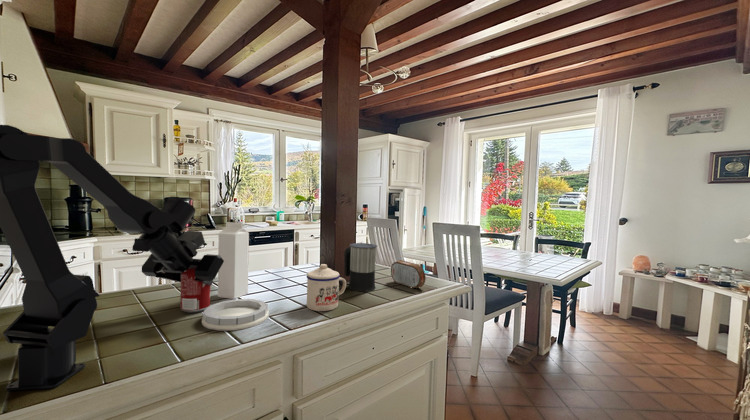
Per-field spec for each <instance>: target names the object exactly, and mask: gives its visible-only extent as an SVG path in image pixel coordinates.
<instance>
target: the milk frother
mask: <svg viewBox="0 0 750 420" xmlns="http://www.w3.org/2000/svg"><path fill="white" fill-rule="evenodd" d="M377 247H378V245H377V244H373V243H365V242H364V243H363V242H358V243H357V242H356V243H350V244H349V246H348V247H346V248H345V250H344V254H343V256H344V257H343V260H344V261H343V263H344V269H343V270H344V276H345V277H349V283H347V282H346V286H348V289H349V290H352V291H354V292H355V291H356V292H370V291H373V290H375V289H376V283H375V281H376V258H377ZM339 286H341V287H339V291H340V290H341V289H342V286H343V281H342V280H339ZM339 291H338V292H339Z"/></svg>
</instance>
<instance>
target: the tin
mask: <svg viewBox="0 0 750 420" xmlns="http://www.w3.org/2000/svg"><path fill="white" fill-rule="evenodd" d="M390 276H391V279H392V280H393V281H394V283H396V284H398V283H399V284H398V285H400V284H402V286H403V285H405V286H404V287H407V286H408V287H407V288H410V287H412V288H411V289H413V288H416V289H418V288H419V287H420V288H422V287H423V286H424V285H425V282H426V273H425V270H424V268H423V267H422V266H421V265H420V264H418V263H415V262H414V263H413V262H409V261H406V260H402V259H401V260H398V261H395V262H393V263H392V264H391V266H390Z"/></svg>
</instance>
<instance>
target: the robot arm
mask: <svg viewBox="0 0 750 420" xmlns="http://www.w3.org/2000/svg"><path fill="white" fill-rule="evenodd" d="M40 162H48V163H50V164H51V165H52V166H54V167H55V168H56V169H57V170H59V172H61V173H62V174H63V175H65V176H66V177H67V178H68V179H70V180H71V181H72V182H74V183H75V184H76V185H77V186H78V187H80V189H82V190H83V191H84V192H85V193H87V195H88V196H89V195H90V197H92V199H94V200H95V201H97V202H98V203H99V204H101V206H103V207H104V209H105V210H106V212H107V216H108V219H109V220H110V221H111V222H112V223H113V225H115V227H116V228H117V229H118V230H119V231H120V232H123V233H129V234H130V233H131V234H141V235H140V236H139V237H138V238H136V237H135V238H134V242H133V245H132V251H133V252H145V253H147V252H150V255H149V256H148V258H147V259H146V261H144V263H143V264H142V265H141V273H143V275H145V276H146V277H154V278H157V279H163V280H168V281H172V282H177V283H181V273H183V272H184V271H187V270H188V268H189V269H195V277H196V278H195V281H198V282H201V283H203V284H206V285H210V287H211V286H212V285H213V283H214V280H215V278H216V277H217V276H218V271H219V270H220V268H221V266H222V264H223V262H224V260H223V259H222V257H221V256H220V255H218V254H209V253H206V254H204V255H203V256H202V258H200V259H199V258H195V257H196V256H197V254H198V251H197V250H198V249H199V248H200V247H201V246H203V245H205V244H206V241H205V238H204V235H203V232H202V231H198V230H197V231H196V230H195V231H194V230H188V231H184V229H185V228H186V226H187V225H188V224H189V222H190V221H191V219H192V218H193V216H194V215H195V213H196V208H195V207H194V205H192V204H190V203H189V202H188V201H185V200H182V199H181V198H180V197H179V196H170V197H169V198H168V199H167V200H166V203H165V204H164V205H163V206H162V207H161V209H160V208H159V207H158V206H156V205H154V204H153V203H152V202H150V201H149V200H147V199H144V198H142V197H139V196H137V195H135V194H134V193H132V192H131V191H129V190H128V189H127V188H126V187H125V186H124V185H123V184H122V183H121V182H120V181H118V179H116V178H115V176H113V175H112V173H110V171H109V170H107V169H106V168H105V166H103V165H102V164H101V163H99V161H98V160H97V159H95V158H94V157H93V156H92V155H91V154H90V153H89V152H88V151H87V149H86V147H85V145H84V144H83V143H81V142H80V141H79V140H76V139H74V138H71V137H70V138H67V137H66V138H64V137H63V138H62V137H61V138H60V137H54V136H45V135H37V134H36V135H35V134H29V132H25V131H24V130H22V129H20V128H18V127H16V126H13V125H9V124H0V229H1V232H2V233H3V236H4V238H5V240H6V242H7V244H8V246H9V248H10V250H11V252H12V254H13V256H14V259H15V262H16V263H17V265H18V267H19V269H20V271H21V274H22V276H23V277H24V280H25V286H24V290H23V292H22V297H21V302H22V307H23V311H22V312H21V313H20V314H19V315H18V316H17V317H16V318H15V320H13V322H12V323H10V325H8V327H6V329H5V330H4V331H3V332H2V335H3V336H4V338H5V339H6V341H7V343H8V344H19V345H21V347H19V348H18V349H17V350H18V351H17V352H18V353H17V354H18V355H17V359H18V360H17V363H18V364H17V367H18V368H17V370H18V371H17V373H18V375H17V378H18V379H17V380H14V382H11V383H10V384H8V385H7V386H5V391H9V392H10V391H26V390H42V389H54V388H57V387H59V386H60V385H61V384H62V383H64V382H65V381H67V380H68V379H70V378H71V377H72V376H74V375H75V374H77V373H78V372H80V371H81V370H82V369H84V368H85V367H86V363H85V362H82V363H81V362H79V363H76V362H77V361H76V360H77V340H79V339H83V338H85V337H86V336H87V334H88V331H89V328H90V325H91V322H92V319H93V317H94V314H95V310H97V309H98V301H97V300H98V299H97V297H100V294H99V293H98V292H97V291H96V290H95V286H94V281H93V279H92V277H91V275H85V274H84V275H83V274H74V273H73V272H71V270H70V269H69V265H68V264H67V262H66V260H65V257H64V255H63V252H62V250H61V247H60V245H59V243H58V241H57V237H56V236H55V233H54V230H53V228H52V226H51V223H50V220H49V219H48V216H47V214H46V211H45V209H44V206H43V204H42V202H41V201H42V200H41V199H40V196H39V194H38V191H37V189H36V181H37V178H38V175H39V171H40V167H41V166H40ZM49 327H51V328H49ZM52 327H53V328H52Z"/></svg>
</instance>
